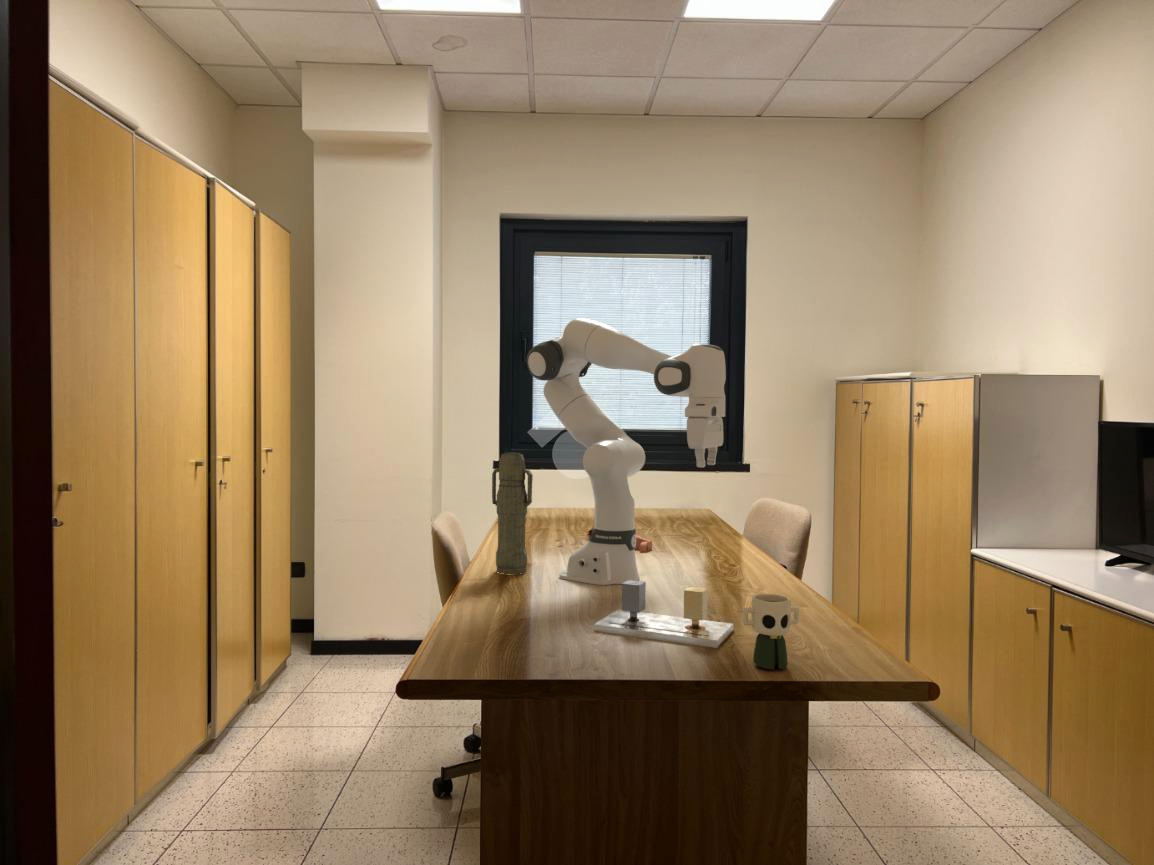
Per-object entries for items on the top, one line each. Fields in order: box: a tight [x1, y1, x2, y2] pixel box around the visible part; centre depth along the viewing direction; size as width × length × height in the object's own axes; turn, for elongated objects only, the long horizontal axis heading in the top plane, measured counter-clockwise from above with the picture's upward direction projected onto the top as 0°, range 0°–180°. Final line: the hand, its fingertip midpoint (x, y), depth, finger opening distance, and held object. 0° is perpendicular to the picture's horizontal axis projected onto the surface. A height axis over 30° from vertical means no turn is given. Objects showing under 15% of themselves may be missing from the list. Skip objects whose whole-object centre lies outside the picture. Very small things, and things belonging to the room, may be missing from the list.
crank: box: [587, 534, 653, 553], centre depth 268 cm, size 20×8×8 cm, turn 64°
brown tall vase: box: [491, 451, 534, 575], centre depth 229 cm, size 9×12×35 cm
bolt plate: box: [593, 580, 734, 649], centre depth 172 cm, size 27×14×10 cm, turn 65°
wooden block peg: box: [683, 586, 709, 628], centre depth 169 cm, size 4×4×8 cm
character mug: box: [742, 593, 800, 670], centre depth 148 cm, size 11×7×13 cm, turn 97°
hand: (706, 466), depth 195 cm, fingers open, 8 cm apart
